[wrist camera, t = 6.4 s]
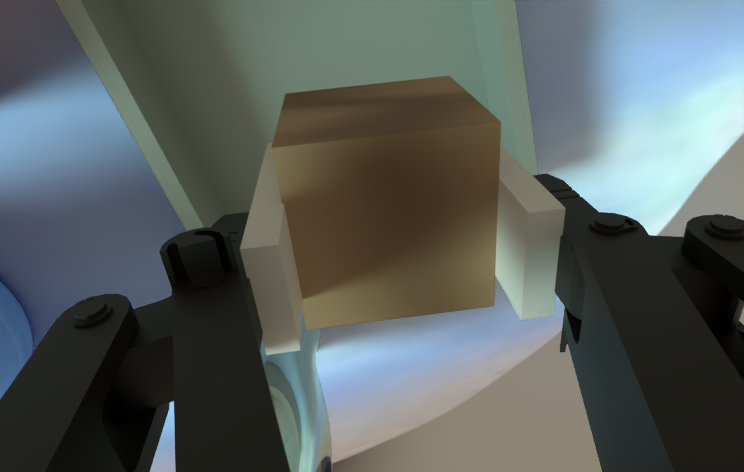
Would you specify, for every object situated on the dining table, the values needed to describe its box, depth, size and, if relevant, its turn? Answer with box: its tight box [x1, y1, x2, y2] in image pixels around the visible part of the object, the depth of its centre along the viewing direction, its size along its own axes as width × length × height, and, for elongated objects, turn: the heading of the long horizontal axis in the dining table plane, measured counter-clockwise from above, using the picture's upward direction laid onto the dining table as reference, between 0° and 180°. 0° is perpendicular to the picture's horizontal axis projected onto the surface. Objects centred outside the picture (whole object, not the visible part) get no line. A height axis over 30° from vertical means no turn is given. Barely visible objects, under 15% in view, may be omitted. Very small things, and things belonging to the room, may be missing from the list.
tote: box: [55, 0, 539, 231], centre depth 27 cm, size 22×20×5 cm
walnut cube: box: [271, 76, 501, 330], centre depth 14 cm, size 5×5×5 cm
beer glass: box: [260, 309, 332, 472], centre depth 32 cm, size 7×7×15 cm
